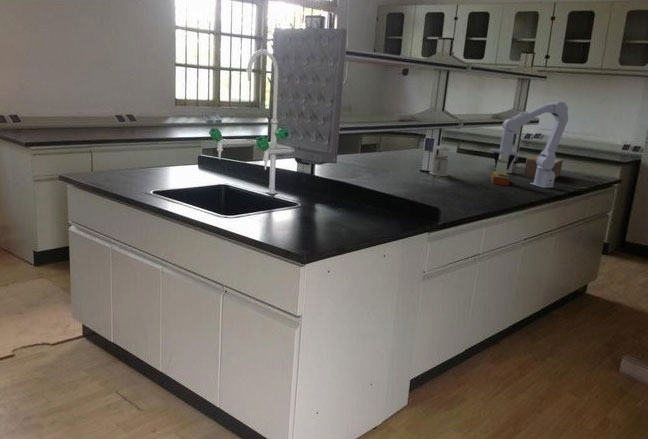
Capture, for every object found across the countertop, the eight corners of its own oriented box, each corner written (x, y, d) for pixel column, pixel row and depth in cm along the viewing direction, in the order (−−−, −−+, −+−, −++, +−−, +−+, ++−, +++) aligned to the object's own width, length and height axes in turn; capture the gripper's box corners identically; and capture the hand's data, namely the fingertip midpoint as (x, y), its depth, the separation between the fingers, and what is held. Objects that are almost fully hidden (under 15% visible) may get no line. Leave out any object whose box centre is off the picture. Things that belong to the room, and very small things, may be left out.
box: (507, 171, 304) (509, 160, 302) (505, 173, 299) (507, 162, 297) (497, 170, 306) (499, 158, 304) (495, 171, 302) (497, 160, 300)
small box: (509, 171, 340) (512, 154, 337) (511, 173, 334) (514, 155, 332) (495, 170, 340) (498, 152, 337) (497, 171, 335) (500, 153, 332)
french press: (448, 173, 312) (455, 127, 305) (446, 177, 301) (454, 129, 294) (430, 171, 314) (437, 125, 308) (427, 174, 304) (435, 127, 297)
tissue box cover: (549, 181, 323) (553, 163, 320) (523, 176, 330) (527, 159, 327) (559, 176, 344) (563, 159, 341) (534, 171, 351) (538, 155, 348)
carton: (506, 180, 311) (507, 173, 309) (508, 186, 295) (510, 178, 294) (490, 178, 312) (491, 171, 311) (492, 184, 297) (493, 176, 296)
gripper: (522, 144, 298) (517, 169, 302) (494, 139, 305) (489, 165, 308) (520, 145, 292) (515, 171, 296) (491, 140, 298) (486, 166, 302)
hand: (501, 168), depth 302 cm, fingers closed on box, 5 cm apart
